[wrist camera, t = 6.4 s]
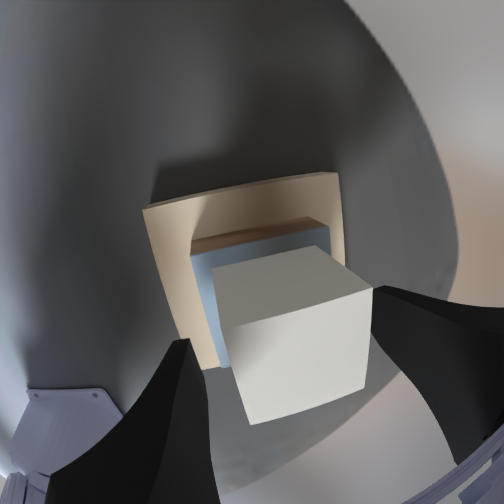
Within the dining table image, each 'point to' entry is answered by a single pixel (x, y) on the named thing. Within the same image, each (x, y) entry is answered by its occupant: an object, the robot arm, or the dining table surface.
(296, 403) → the cream cube
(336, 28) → the dining table surface
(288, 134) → the dining table surface
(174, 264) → the base
